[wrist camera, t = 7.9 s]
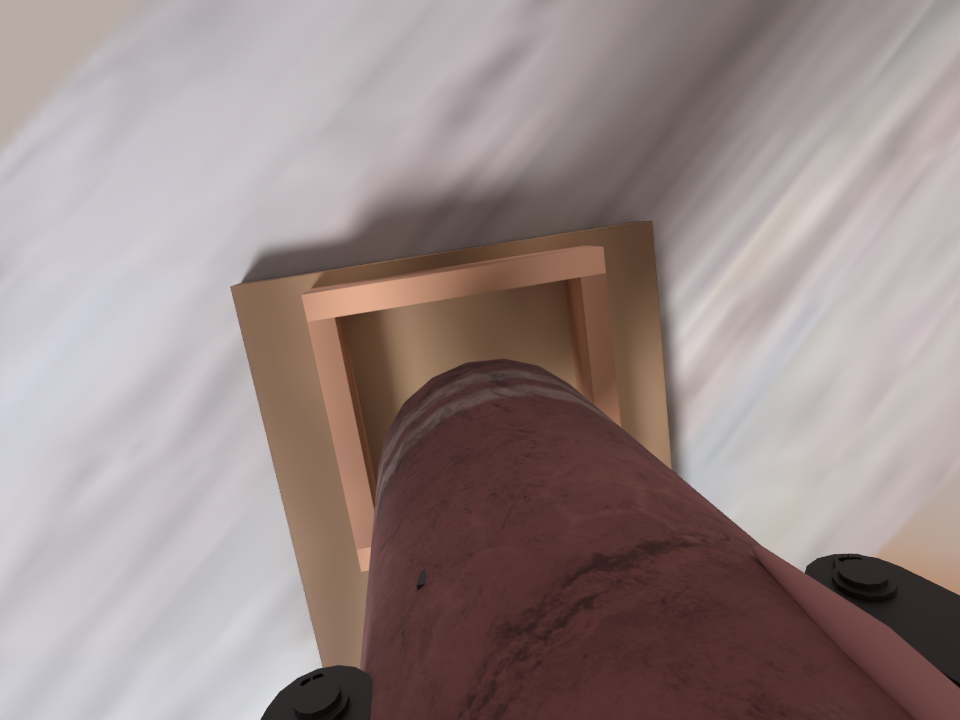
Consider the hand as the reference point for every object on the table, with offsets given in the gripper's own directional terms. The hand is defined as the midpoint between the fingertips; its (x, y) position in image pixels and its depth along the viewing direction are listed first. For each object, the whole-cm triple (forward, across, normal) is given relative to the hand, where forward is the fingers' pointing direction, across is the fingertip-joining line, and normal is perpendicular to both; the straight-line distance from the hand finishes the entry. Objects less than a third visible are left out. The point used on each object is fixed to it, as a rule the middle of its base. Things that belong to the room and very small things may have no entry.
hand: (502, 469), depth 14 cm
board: (+8, 0, -5) cm, 9 cm away
